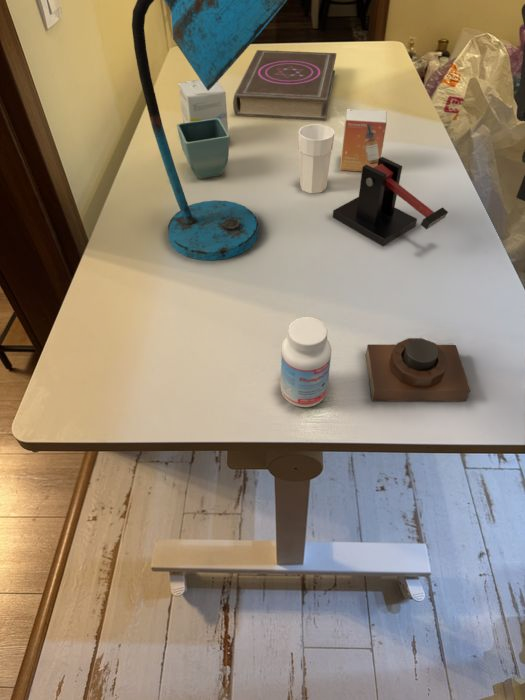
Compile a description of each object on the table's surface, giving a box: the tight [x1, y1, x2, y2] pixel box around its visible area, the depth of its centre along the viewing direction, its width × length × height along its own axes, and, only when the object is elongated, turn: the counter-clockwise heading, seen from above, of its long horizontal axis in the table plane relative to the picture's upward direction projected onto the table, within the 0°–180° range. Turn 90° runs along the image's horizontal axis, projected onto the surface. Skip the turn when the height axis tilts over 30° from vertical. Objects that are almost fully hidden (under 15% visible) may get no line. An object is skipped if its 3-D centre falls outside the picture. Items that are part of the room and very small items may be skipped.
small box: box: [339, 108, 388, 172], centre depth 104 cm, size 8×6×10 cm
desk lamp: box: [131, 0, 288, 262], centre depth 76 cm, size 16×22×45 cm
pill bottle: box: [280, 316, 332, 408], centre depth 64 cm, size 6×6×11 cm
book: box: [232, 49, 337, 121], centre depth 133 cm, size 30×22×5 cm
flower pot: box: [176, 118, 231, 180], centre depth 104 cm, size 9×9×9 cm
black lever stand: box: [332, 156, 418, 247], centre depth 90 cm, size 12×9×11 cm
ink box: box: [178, 79, 229, 133], centre depth 113 cm, size 9×9×12 cm
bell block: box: [365, 337, 471, 402], centre depth 68 cm, size 12×8×4 cm, turn 89°
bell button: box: [404, 338, 438, 371], centre depth 66 cm, size 4×4×2 cm
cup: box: [298, 123, 335, 195], centre depth 99 cm, size 7×7×11 cm
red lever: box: [374, 164, 449, 230], centre depth 86 cm, size 14×5×2 cm, turn 41°
